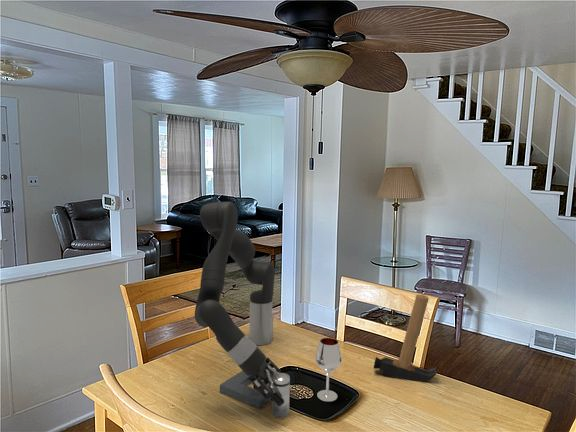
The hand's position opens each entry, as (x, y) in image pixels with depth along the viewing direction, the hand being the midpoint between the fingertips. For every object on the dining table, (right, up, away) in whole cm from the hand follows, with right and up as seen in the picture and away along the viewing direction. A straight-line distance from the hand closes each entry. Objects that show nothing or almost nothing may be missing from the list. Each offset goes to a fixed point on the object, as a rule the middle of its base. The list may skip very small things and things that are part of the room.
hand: (284, 395), depth 121 cm
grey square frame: (-10, -4, +13) cm, 17 cm away
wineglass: (+13, -5, +10) cm, 18 cm away
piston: (-1, -5, +1) cm, 6 cm away
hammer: (+42, -4, +24) cm, 48 cm away
